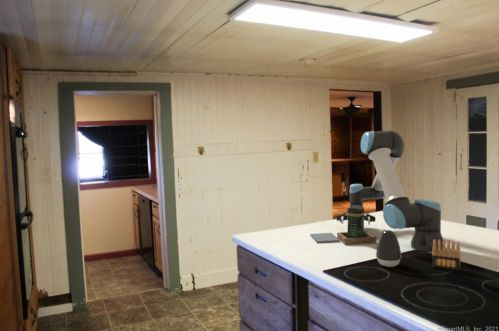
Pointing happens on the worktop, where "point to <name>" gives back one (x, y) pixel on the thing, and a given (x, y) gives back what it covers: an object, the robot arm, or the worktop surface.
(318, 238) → the slate mat
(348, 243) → the walnut collar
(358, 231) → the coffee jar
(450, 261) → the ammunition clip
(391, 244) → the grey egg shaped container
